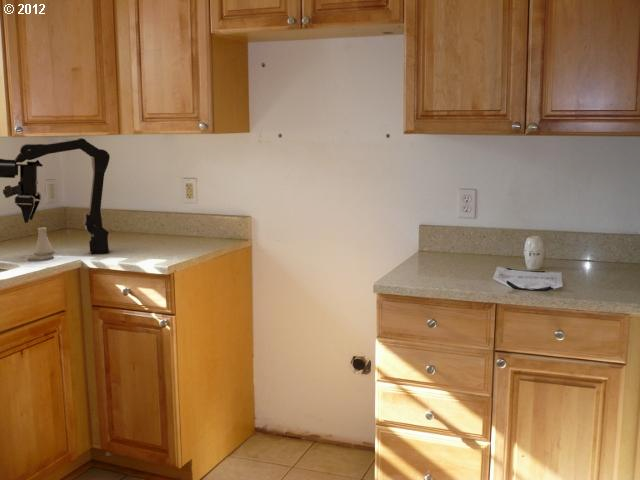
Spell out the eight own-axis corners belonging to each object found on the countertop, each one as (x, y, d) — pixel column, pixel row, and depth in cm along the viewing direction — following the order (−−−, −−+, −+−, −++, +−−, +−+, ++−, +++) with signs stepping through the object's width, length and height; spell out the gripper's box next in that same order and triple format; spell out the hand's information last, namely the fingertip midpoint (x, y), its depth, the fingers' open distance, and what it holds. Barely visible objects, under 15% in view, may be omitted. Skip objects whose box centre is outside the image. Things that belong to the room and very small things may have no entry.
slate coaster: (54, 255, 268) (54, 253, 268) (51, 260, 260) (51, 258, 259) (29, 257, 266) (29, 255, 266) (25, 261, 257) (25, 259, 257)
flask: (29, 254, 272) (27, 228, 270) (45, 251, 278) (43, 226, 276) (43, 256, 268) (41, 229, 267) (58, 252, 275) (56, 227, 273)
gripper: (9, 176, 266) (10, 217, 268) (-1, 179, 248) (-1, 223, 250) (41, 177, 268) (41, 218, 270) (33, 180, 250) (33, 224, 252)
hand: (28, 221), depth 261 cm, fingers open, 9 cm apart
